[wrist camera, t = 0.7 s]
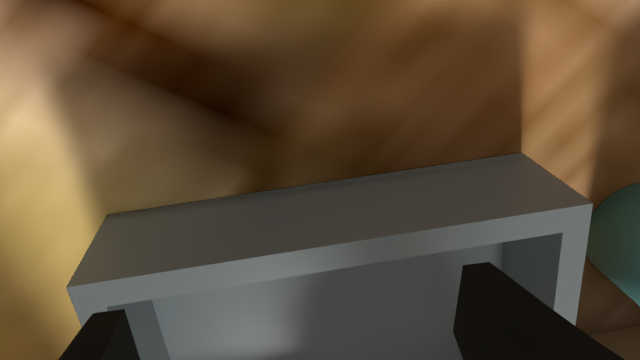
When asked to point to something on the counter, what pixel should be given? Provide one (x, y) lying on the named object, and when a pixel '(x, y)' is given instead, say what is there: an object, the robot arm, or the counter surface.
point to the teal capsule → (618, 240)
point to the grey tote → (334, 263)
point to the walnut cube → (621, 342)
